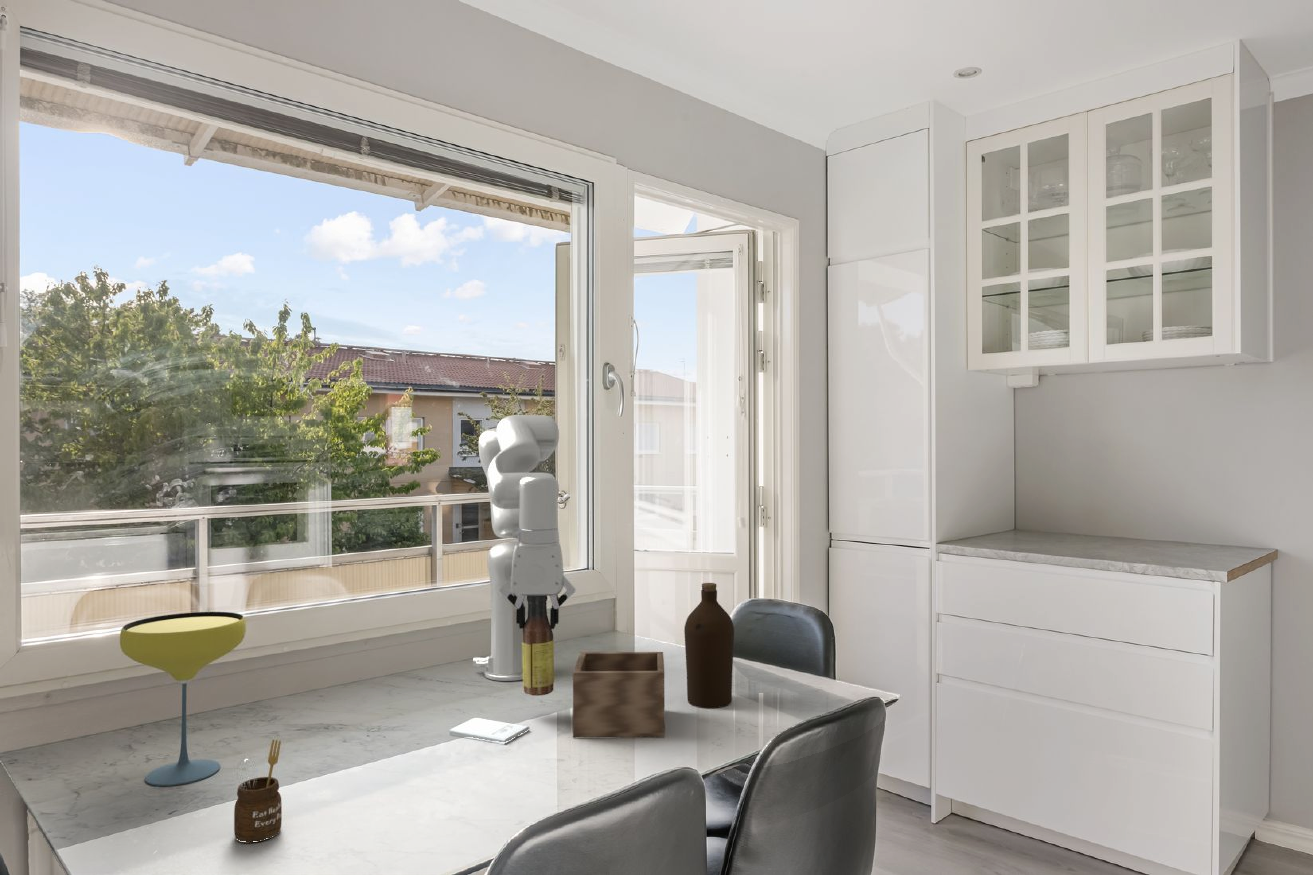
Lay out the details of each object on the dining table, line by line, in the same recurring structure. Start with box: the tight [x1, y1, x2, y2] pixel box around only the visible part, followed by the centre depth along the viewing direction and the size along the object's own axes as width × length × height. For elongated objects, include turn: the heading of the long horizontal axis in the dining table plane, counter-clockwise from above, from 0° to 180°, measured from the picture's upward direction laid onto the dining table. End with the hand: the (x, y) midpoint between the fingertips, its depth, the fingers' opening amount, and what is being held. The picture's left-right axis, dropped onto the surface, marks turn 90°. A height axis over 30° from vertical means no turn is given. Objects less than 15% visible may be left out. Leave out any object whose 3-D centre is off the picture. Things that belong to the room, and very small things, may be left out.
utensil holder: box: [233, 739, 283, 842], centre depth 113 cm, size 6×6×12 cm
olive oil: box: [683, 582, 735, 709], centre depth 174 cm, size 11×11×25 cm
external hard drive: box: [449, 717, 530, 742], centre depth 155 cm, size 2×8×12 cm
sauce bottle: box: [522, 595, 555, 696], centre depth 164 cm, size 7×6×20 cm
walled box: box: [572, 651, 666, 739], centre depth 160 cm, size 17×16×12 cm
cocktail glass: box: [119, 611, 247, 787], centre depth 135 cm, size 18×18×25 cm
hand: (537, 626), depth 164 cm, fingers closed on sauce bottle, 5 cm apart
